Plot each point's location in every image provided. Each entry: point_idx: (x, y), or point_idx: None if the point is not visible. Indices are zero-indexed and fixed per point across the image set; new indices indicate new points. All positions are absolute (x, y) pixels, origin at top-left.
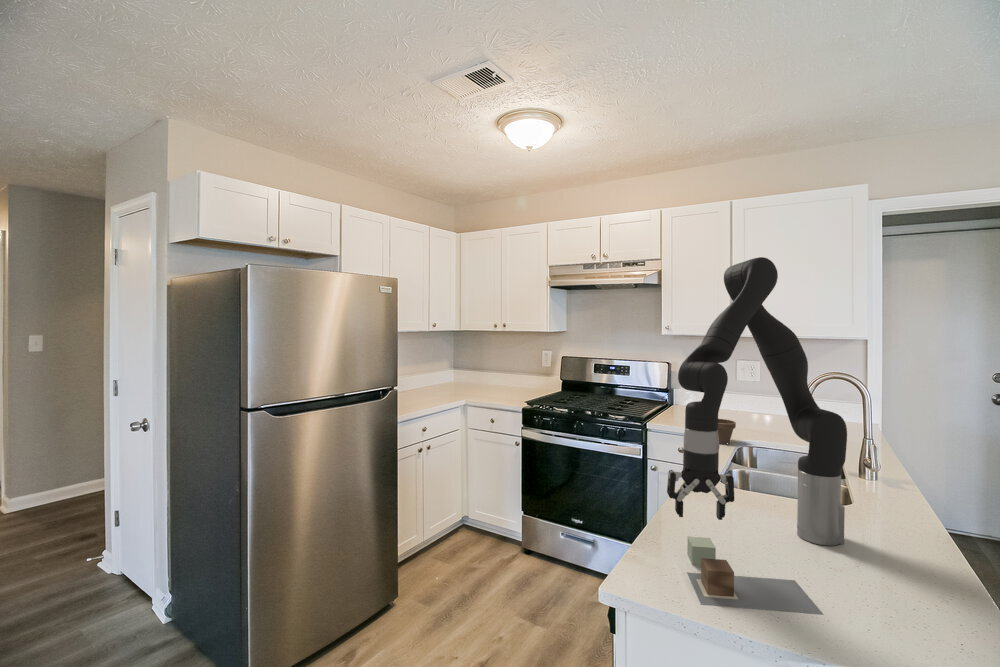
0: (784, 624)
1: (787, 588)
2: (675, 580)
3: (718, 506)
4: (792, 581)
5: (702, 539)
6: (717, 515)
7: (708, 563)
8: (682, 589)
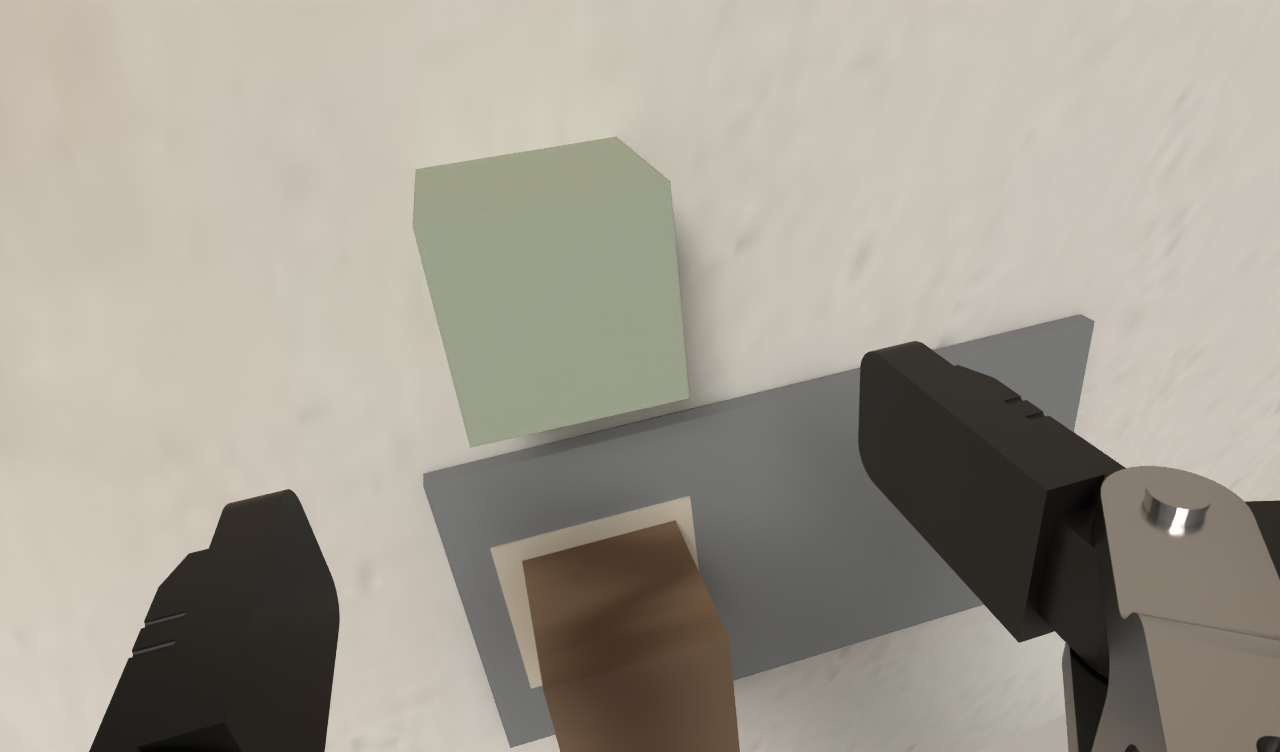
0: (851, 682)
1: None
2: (349, 564)
3: (983, 563)
4: (1073, 341)
5: (584, 250)
6: (881, 419)
7: (590, 732)
8: (404, 635)
